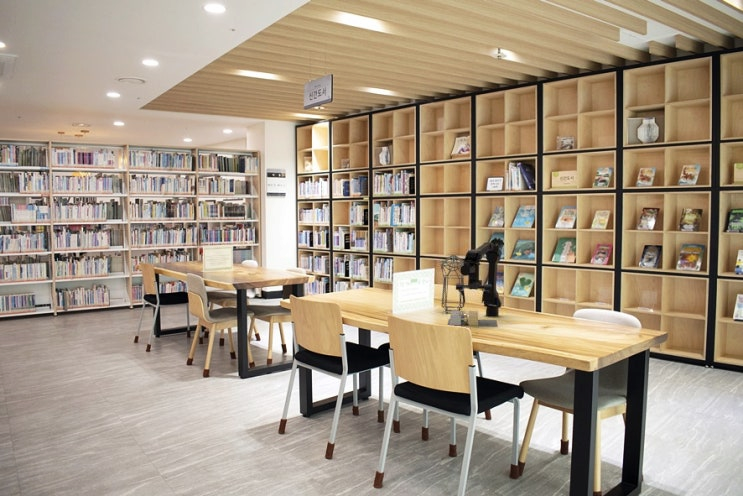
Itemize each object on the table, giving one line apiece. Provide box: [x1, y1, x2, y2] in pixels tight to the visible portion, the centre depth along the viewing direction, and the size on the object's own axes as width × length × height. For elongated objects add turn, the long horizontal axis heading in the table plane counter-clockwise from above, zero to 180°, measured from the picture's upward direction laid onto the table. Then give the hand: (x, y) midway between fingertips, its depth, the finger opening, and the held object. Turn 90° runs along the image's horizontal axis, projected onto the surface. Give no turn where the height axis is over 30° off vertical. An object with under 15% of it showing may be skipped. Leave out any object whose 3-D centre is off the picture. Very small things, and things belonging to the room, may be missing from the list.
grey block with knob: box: [449, 309, 468, 327], centre depth 314 cm, size 16×9×5 cm, turn 170°
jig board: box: [447, 318, 499, 328], centre depth 313 cm, size 18×26×1 cm
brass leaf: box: [463, 310, 479, 327], centre depth 313 cm, size 16×8×5 cm, turn 170°
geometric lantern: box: [440, 254, 466, 314], centre depth 348 cm, size 16×16×35 cm
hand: (473, 302), depth 312 cm, fingers open, 9 cm apart
